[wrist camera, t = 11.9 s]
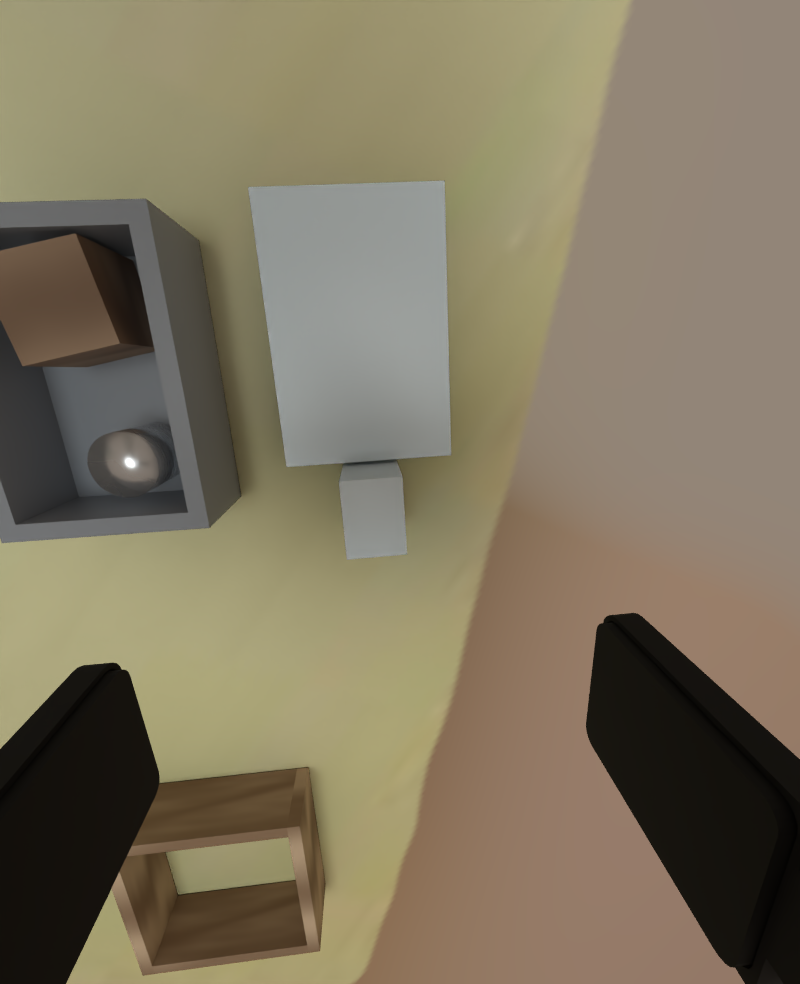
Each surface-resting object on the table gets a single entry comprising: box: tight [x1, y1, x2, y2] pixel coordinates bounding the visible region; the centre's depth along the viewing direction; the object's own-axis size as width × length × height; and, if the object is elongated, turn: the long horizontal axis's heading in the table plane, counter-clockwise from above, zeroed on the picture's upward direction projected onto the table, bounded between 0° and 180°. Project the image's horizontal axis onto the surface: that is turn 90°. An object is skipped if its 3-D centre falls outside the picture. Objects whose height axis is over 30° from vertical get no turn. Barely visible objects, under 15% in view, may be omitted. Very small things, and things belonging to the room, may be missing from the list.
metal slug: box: [87, 423, 180, 498], centre depth 20 cm, size 3×3×4 cm
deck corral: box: [112, 768, 325, 975], centre depth 29 cm, size 12×12×4 cm
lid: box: [248, 181, 451, 560], centre depth 20 cm, size 17×9×4 cm, turn 3°
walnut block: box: [0, 233, 155, 367], centre depth 18 cm, size 4×4×4 cm
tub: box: [0, 199, 241, 543], centre depth 19 cm, size 13×9×5 cm
